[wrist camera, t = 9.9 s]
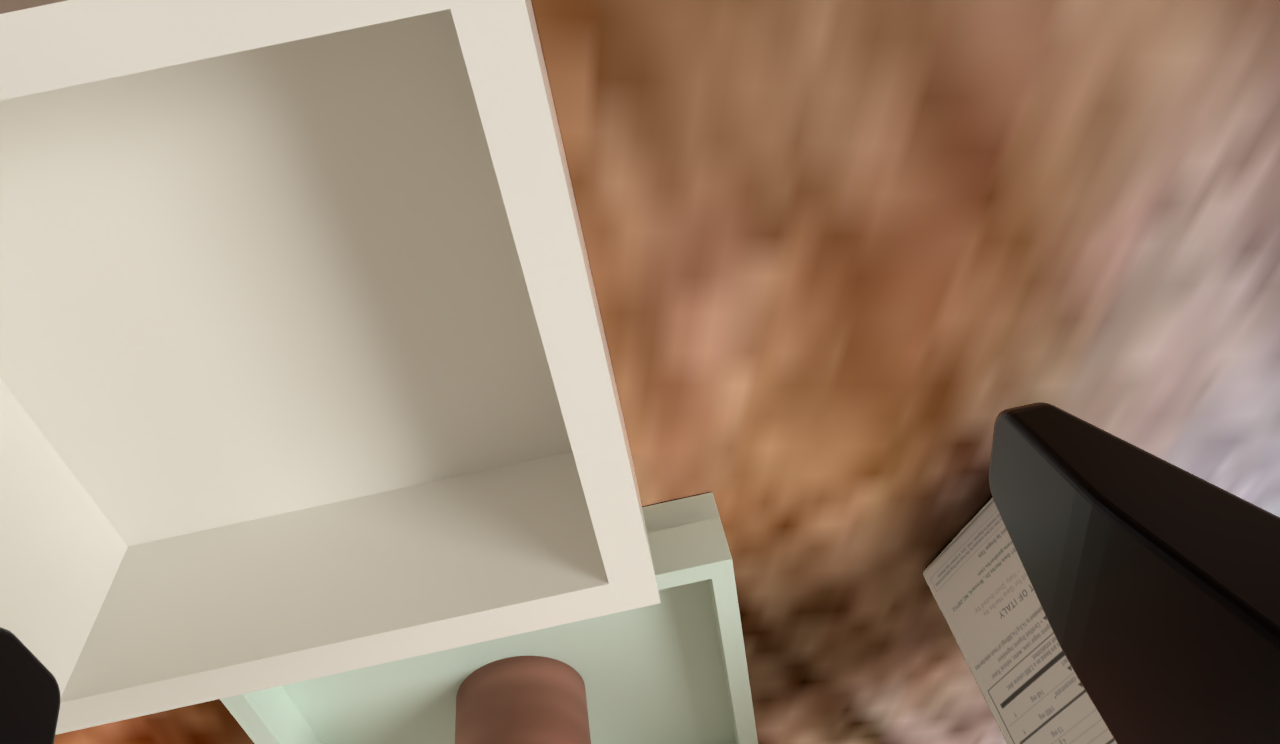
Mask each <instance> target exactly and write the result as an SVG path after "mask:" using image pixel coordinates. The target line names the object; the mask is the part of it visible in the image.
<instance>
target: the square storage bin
mask: <svg viewBox="0 0 1280 744" xmlns="http://www.w3.org/2000/svg"><path fill="white" fill-rule="evenodd" d="M660 603H661V601H660V596H659V591H658V586H657V581H656V576H655V571H654V566H653V561H652V556H651V551H650V546H649V541H648V536H647V530H646V525H645V520H644V515H643V510H642V505H641V500H640V495H639V490H638V485H637V480H636V475H635V470H634V465H633V460H632V455H631V450H630V446H629V441H628V437H627V432H626V428H625V423H624V419H623V414H622V410H621V405H620V401H619V396H618V392H617V387H616V383H615V378H614V374H613V369H612V365H611V360H610V356H609V351H608V347H607V342H606V338H605V333H604V329H603V324H602V320H601V315H600V311H599V306H598V302H597V297H596V293H595V288H594V284H593V279H592V275H591V270H590V266H589V261H588V257H587V252H586V247H585V243H584V238H583V234H582V229H581V225H580V220H579V216H578V211H577V207H576V202H575V198H574V193H573V189H572V184H571V180H570V175H569V171H568V166H567V162H566V157H565V153H564V148H563V144H562V139H561V135H560V130H559V126H558V121H557V117H556V112H555V108H554V103H553V99H552V94H551V90H550V85H549V81H548V76H547V72H546V67H545V63H544V58H543V54H542V49H541V45H540V40H539V36H538V31H537V27H536V22H535V18H534V13H533V9H532V4H531V0H0V627H1V628H4V629H7V630H9V631H11V632H12V633H13V634H14V635H15V636H16V637H17V638H18V639H19V640H20V641H21V642H22V643H23V644H24V645H25V646H26V647H27V648H28V649H29V650H30V651H31V652H32V653H33V654H34V655H35V657H36V658H37V659H38V660H39V661H40V662H41V663H42V664H43V665H44V666H45V667H46V668H47V669H48V670H49V671H50V672H51V673H52V674H53V676H54V677H55V679H56V681H57V683H58V685H59V690H60V700H61V701H60V710H59V715H58V721H57V727H56V733H55V735H56V734H61V733H66V732H70V731H75V730H79V729H84V728H89V727H93V726H98V725H102V724H107V723H112V722H116V721H121V720H125V719H130V718H135V717H139V716H144V715H148V714H153V713H158V712H162V711H167V710H171V709H176V708H181V707H185V706H190V705H194V704H199V703H204V702H208V701H213V700H217V699H222V698H227V697H231V696H236V695H241V694H245V693H250V692H254V691H259V690H264V689H268V688H273V687H277V686H282V685H287V684H291V683H296V682H300V681H305V680H310V679H314V678H319V677H323V676H328V675H333V674H337V673H342V672H346V671H351V670H356V669H360V668H365V667H369V666H374V665H379V664H383V663H388V662H392V661H397V660H402V659H406V658H411V657H415V656H420V655H425V654H429V653H434V652H439V651H443V650H448V649H452V648H457V647H462V646H466V645H471V644H475V643H480V642H485V641H489V640H494V639H498V638H503V637H508V636H512V635H517V634H521V633H526V632H531V631H535V630H540V629H544V628H549V627H554V626H558V625H563V624H567V623H572V622H577V621H581V620H586V619H590V618H595V617H600V616H604V615H609V614H613V613H618V612H623V611H627V610H632V609H636V608H641V607H646V606H650V605H655V604H660Z"/></svg>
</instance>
